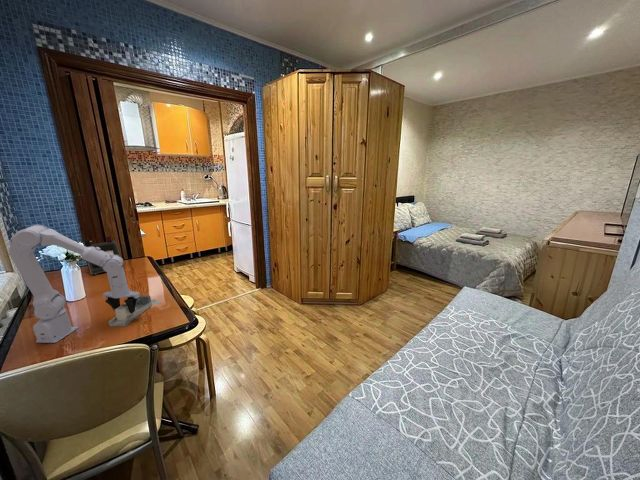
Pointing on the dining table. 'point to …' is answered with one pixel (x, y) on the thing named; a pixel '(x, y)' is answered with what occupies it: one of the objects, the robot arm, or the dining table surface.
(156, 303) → the mounting bracket
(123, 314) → the module
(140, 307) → the rail
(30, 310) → the dining table surface
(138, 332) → the dining table surface
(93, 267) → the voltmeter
